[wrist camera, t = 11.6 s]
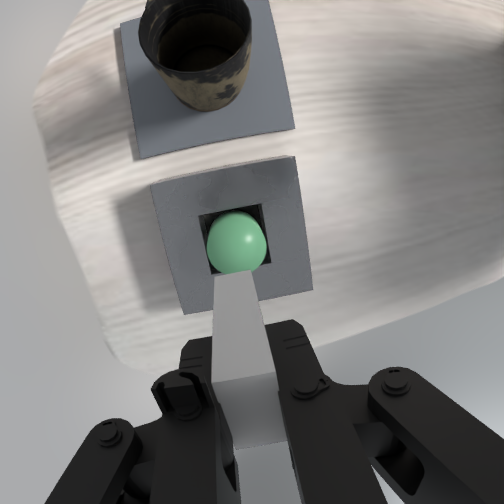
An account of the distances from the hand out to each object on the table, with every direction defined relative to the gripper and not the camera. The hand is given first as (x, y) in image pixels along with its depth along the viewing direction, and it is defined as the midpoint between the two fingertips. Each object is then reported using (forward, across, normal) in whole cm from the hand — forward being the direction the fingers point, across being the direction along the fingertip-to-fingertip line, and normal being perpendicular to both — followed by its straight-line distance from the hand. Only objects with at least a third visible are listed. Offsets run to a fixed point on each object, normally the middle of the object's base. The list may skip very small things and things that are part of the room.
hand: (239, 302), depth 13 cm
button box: (+13, 0, 0) cm, 13 cm away
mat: (+13, 0, -13) cm, 18 cm away
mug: (+13, 0, -13) cm, 18 cm away
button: (+11, 0, 0) cm, 11 cm away
